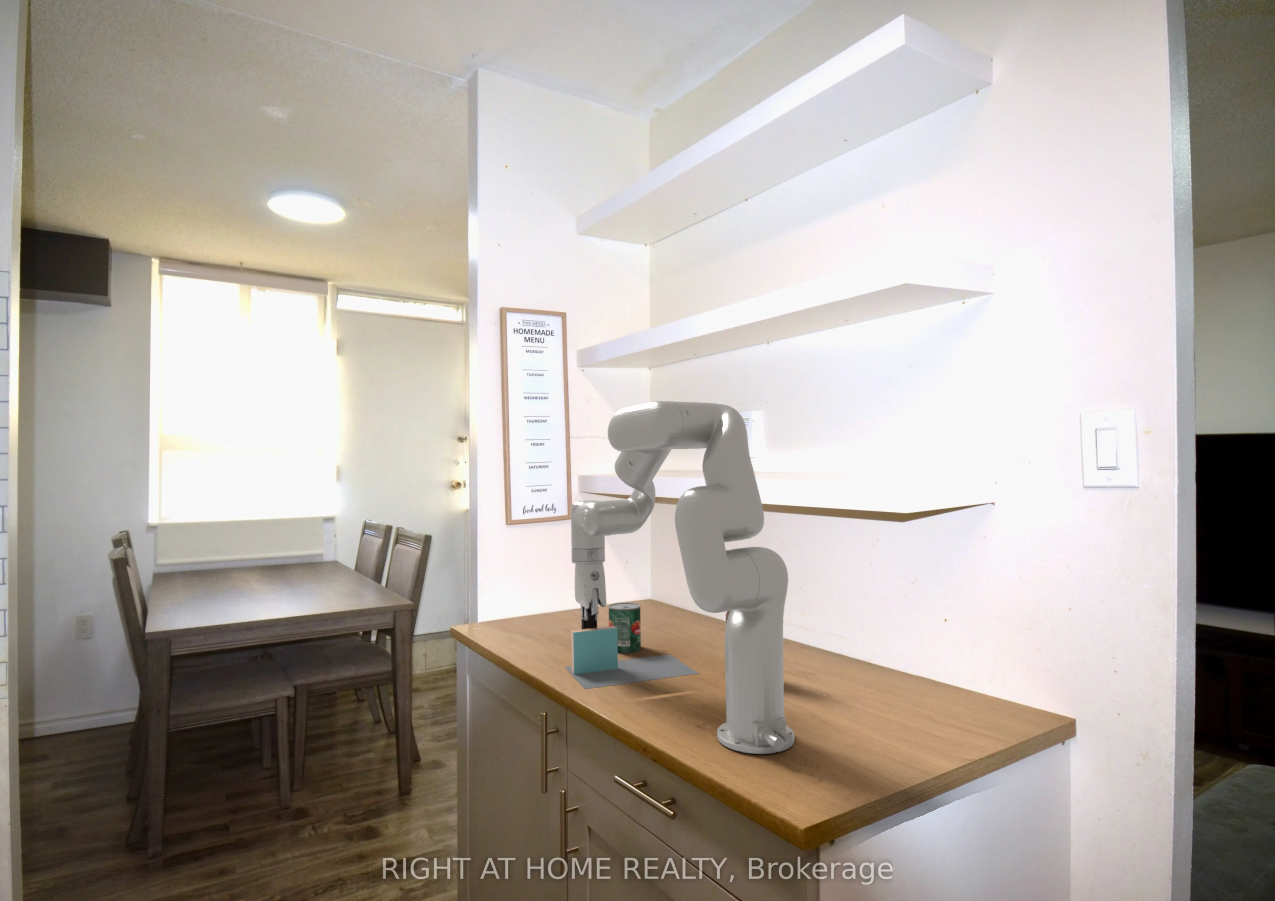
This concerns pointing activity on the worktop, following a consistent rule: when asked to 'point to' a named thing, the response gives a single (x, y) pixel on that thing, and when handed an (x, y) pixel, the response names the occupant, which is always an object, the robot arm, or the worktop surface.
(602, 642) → the tile
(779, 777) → the worktop surface
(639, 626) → the canned tomato
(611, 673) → the mat
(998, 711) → the worktop surface
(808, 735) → the worktop surface
